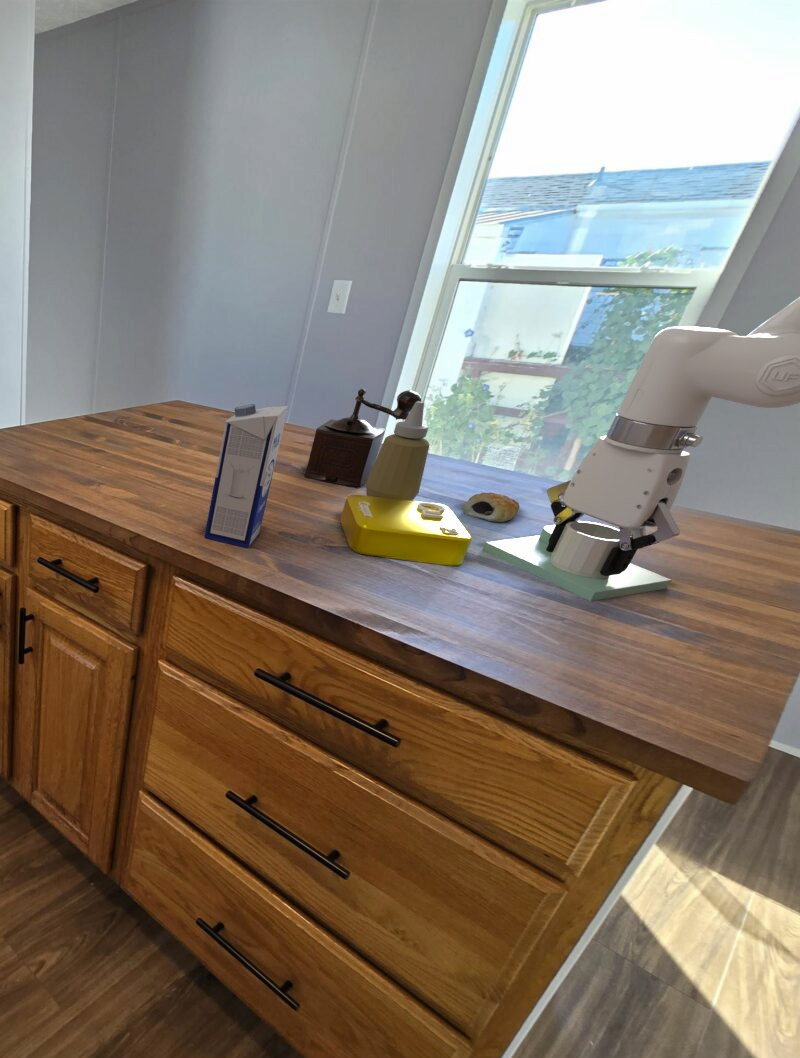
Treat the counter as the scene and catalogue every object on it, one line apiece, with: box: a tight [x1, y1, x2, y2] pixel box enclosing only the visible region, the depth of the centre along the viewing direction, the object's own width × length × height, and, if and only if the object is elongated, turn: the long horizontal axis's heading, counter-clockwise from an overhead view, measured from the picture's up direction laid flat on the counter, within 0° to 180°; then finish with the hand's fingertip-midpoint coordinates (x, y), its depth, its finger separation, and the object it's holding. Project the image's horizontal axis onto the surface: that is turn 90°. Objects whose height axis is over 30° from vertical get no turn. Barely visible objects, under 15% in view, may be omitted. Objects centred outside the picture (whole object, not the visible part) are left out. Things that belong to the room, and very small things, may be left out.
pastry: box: [461, 491, 520, 523], centre depth 110 cm, size 9×7×4 cm
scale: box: [481, 524, 673, 602], centre depth 93 cm, size 16×14×3 cm
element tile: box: [340, 494, 473, 567], centre depth 100 cm, size 15×15×5 cm
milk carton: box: [204, 403, 289, 549], centre depth 97 cm, size 7×7×20 cm
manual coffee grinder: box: [304, 388, 422, 488], centre depth 122 cm, size 16×11×18 cm
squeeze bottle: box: [365, 401, 430, 501], centre depth 109 cm, size 8×8×18 cm
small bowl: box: [550, 520, 620, 578], centre depth 90 cm, size 7×7×6 cm
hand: (582, 561), depth 90 cm, fingers closed on small bowl, 6 cm apart
